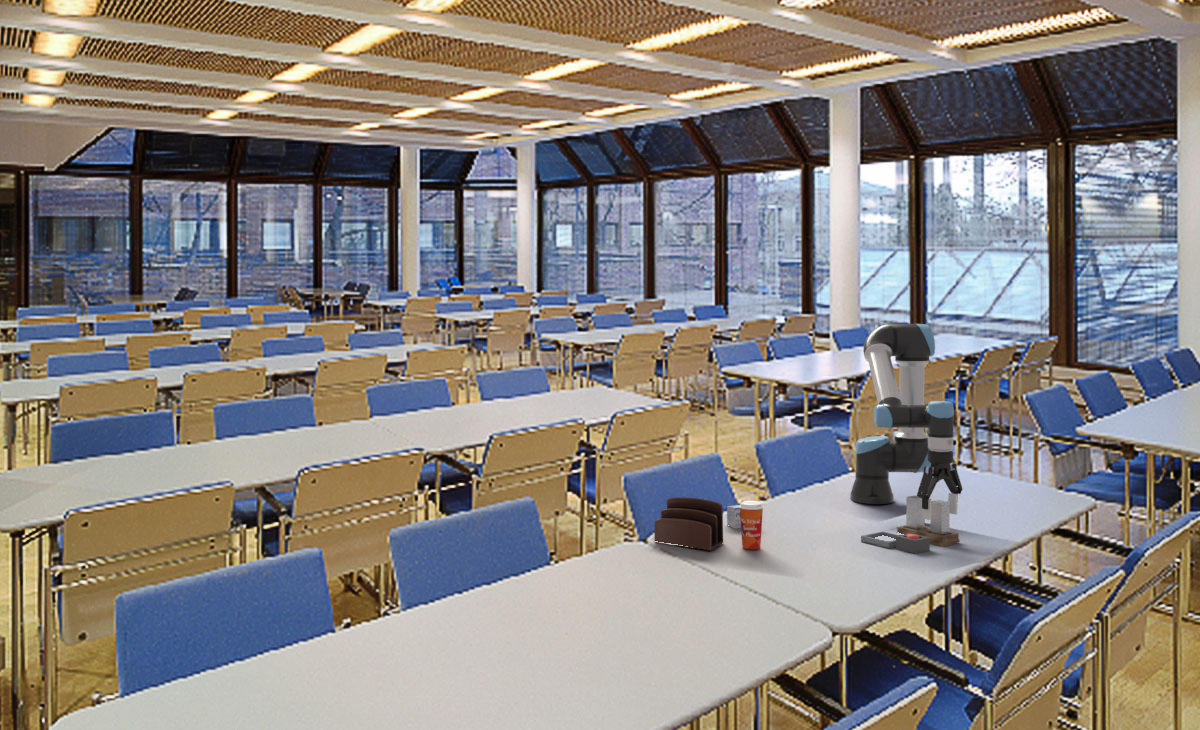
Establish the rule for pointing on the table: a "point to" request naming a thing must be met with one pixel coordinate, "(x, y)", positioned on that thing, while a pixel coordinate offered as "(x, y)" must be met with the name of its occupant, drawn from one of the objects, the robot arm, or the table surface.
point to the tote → (886, 544)
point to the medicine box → (733, 516)
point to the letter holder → (691, 523)
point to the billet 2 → (940, 517)
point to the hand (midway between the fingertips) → (939, 516)
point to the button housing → (913, 544)
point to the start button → (912, 536)
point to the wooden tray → (932, 536)
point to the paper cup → (751, 523)
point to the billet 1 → (914, 513)
